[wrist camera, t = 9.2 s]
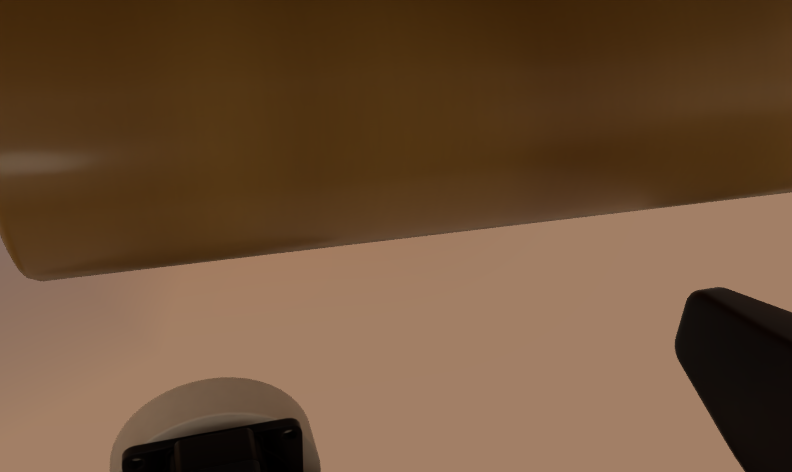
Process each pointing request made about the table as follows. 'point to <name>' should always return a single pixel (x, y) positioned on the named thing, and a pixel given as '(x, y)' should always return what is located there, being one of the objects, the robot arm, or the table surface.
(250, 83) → the lid
